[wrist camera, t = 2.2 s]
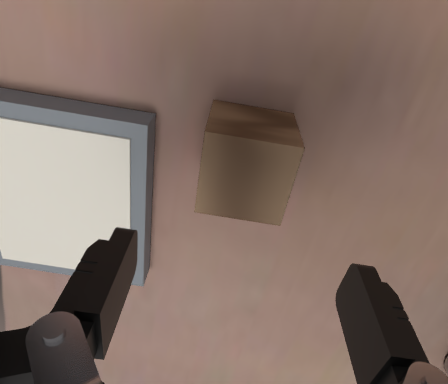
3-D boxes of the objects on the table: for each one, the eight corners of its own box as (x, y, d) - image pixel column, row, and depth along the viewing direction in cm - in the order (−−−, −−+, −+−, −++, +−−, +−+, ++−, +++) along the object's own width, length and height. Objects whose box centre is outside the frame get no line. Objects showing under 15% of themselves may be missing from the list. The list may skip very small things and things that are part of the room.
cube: (293, 112, 21) (304, 148, 17) (274, 180, 23) (280, 225, 19) (213, 99, 21) (204, 131, 16) (204, 169, 23) (194, 212, 19)
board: (155, 113, 21) (146, 126, 19) (149, 268, 29) (142, 288, 27) (-36, 81, 21) (-64, 91, 19) (9, 246, 28) (-8, 265, 27)
